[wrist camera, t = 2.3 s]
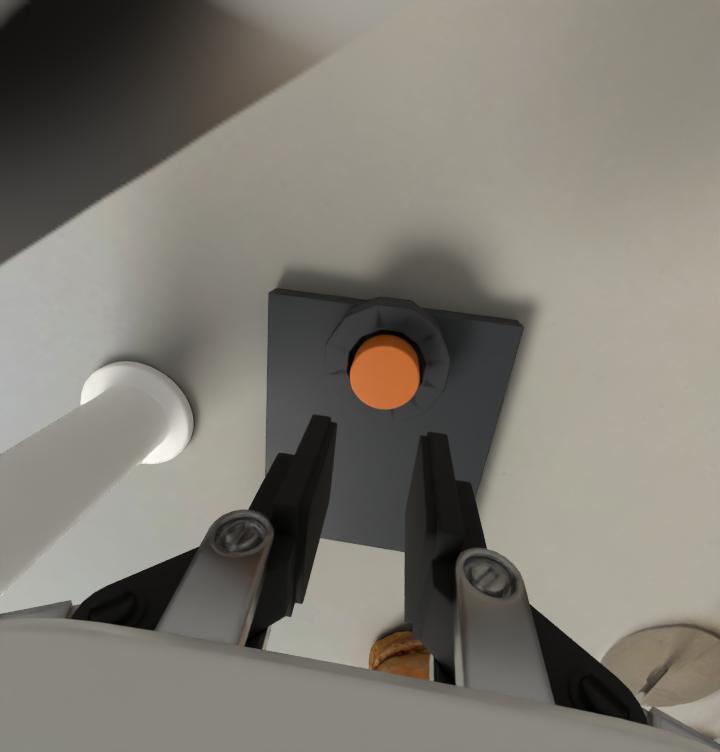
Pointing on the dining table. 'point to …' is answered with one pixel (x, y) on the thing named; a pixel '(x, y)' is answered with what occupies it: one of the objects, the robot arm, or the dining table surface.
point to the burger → (400, 656)
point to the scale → (383, 426)
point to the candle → (85, 458)
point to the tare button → (385, 372)
